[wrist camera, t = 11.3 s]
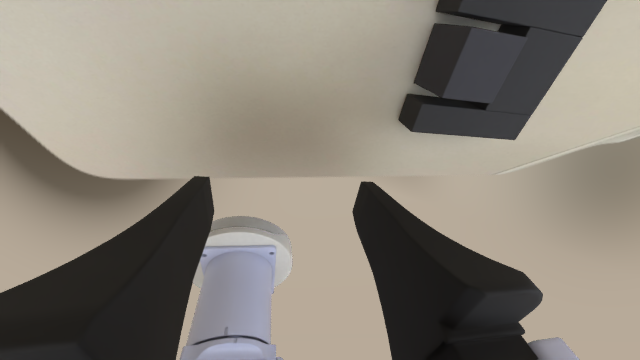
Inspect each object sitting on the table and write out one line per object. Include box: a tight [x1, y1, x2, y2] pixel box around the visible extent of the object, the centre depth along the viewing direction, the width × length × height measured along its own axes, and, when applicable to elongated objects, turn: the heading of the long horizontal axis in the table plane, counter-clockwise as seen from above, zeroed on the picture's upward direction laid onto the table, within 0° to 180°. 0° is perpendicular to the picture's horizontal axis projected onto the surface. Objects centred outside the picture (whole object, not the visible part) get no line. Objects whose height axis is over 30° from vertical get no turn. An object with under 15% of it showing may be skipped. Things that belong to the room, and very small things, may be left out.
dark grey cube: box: [414, 23, 528, 104], centre depth 17 cm, size 4×4×4 cm
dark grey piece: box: [399, 0, 607, 140], centre depth 18 cm, size 10×10×2 cm
